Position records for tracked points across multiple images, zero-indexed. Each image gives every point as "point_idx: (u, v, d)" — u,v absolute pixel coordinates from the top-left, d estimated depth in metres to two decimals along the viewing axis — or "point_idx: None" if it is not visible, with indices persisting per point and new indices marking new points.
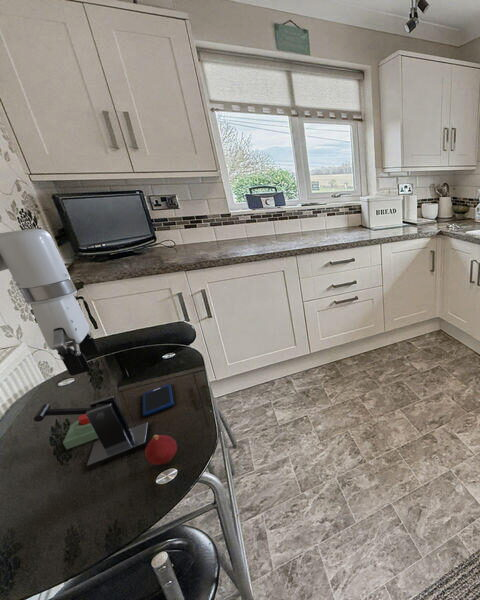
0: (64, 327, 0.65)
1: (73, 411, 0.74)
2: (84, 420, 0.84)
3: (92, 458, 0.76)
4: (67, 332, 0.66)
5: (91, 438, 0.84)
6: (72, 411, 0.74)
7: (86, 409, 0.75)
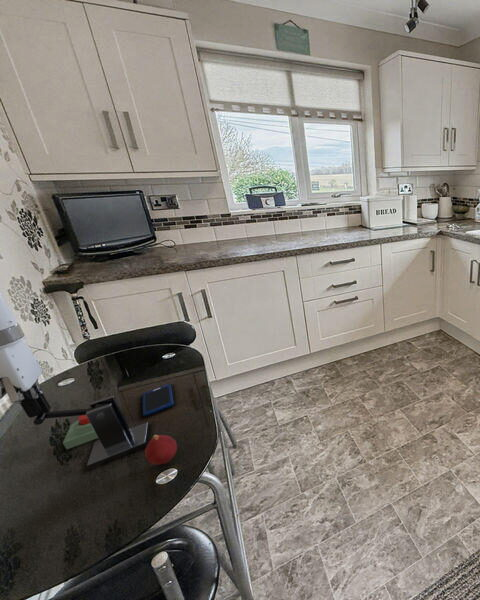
0: (9, 376, 0.63)
1: (73, 412, 0.74)
2: (84, 420, 0.84)
3: (92, 458, 0.76)
4: (12, 381, 0.64)
5: (91, 438, 0.84)
6: (71, 413, 0.74)
7: (86, 410, 0.75)
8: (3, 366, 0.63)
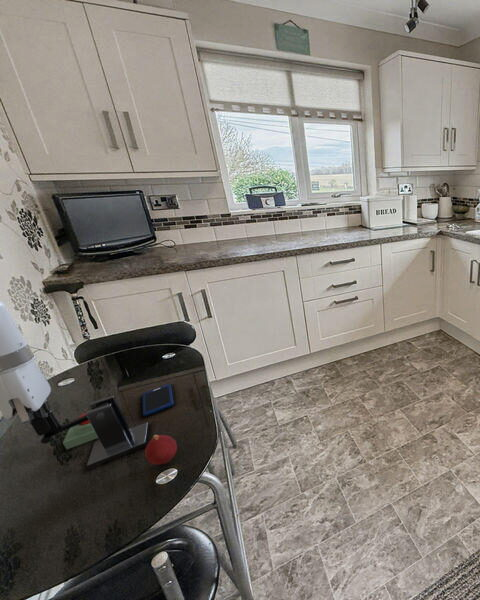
0: (20, 397, 0.65)
1: (75, 421, 0.74)
2: None
3: (92, 458, 0.76)
4: (23, 402, 0.65)
5: (91, 438, 0.84)
6: (74, 423, 0.74)
7: None
8: (14, 387, 0.64)
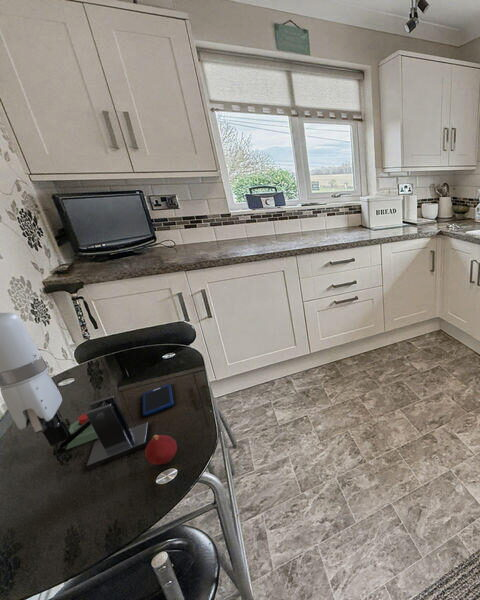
0: (33, 408, 0.67)
1: (81, 427, 0.75)
2: (84, 420, 0.84)
3: (92, 458, 0.76)
4: (36, 412, 0.67)
5: (91, 438, 0.84)
6: (81, 428, 0.75)
7: None
8: (28, 398, 0.66)
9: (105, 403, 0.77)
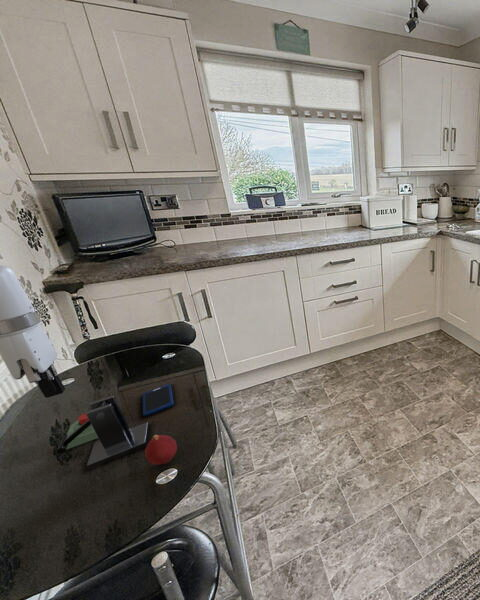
0: (27, 358, 0.69)
1: (81, 427, 0.75)
2: (84, 420, 0.84)
3: (92, 458, 0.76)
4: (30, 363, 0.69)
5: (91, 438, 0.84)
6: (81, 428, 0.75)
7: None
8: (22, 349, 0.68)
9: (105, 403, 0.77)
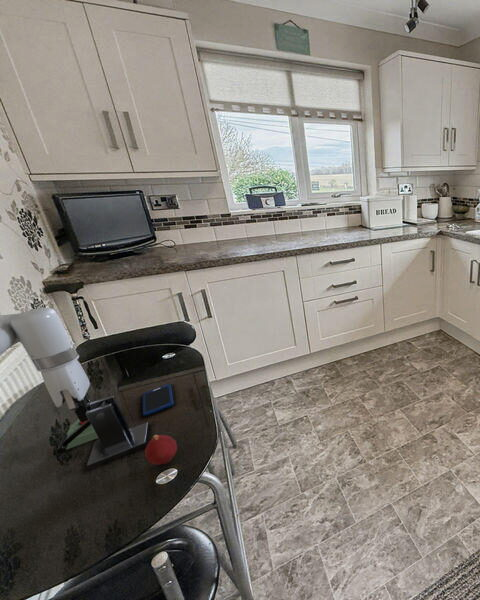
0: (68, 389, 0.78)
1: (81, 427, 0.75)
2: None
3: (92, 458, 0.76)
4: (71, 393, 0.79)
5: (91, 438, 0.84)
6: (81, 428, 0.75)
7: None
8: (64, 381, 0.78)
9: (105, 403, 0.77)
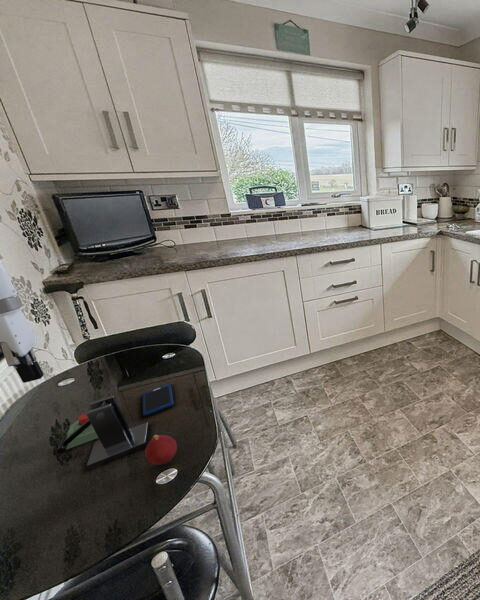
0: (7, 341, 0.70)
1: (81, 427, 0.75)
2: (84, 420, 0.84)
3: (92, 458, 0.76)
4: (10, 346, 0.70)
5: (91, 438, 0.84)
6: (81, 428, 0.75)
7: None
8: (2, 332, 0.69)
9: (105, 403, 0.77)
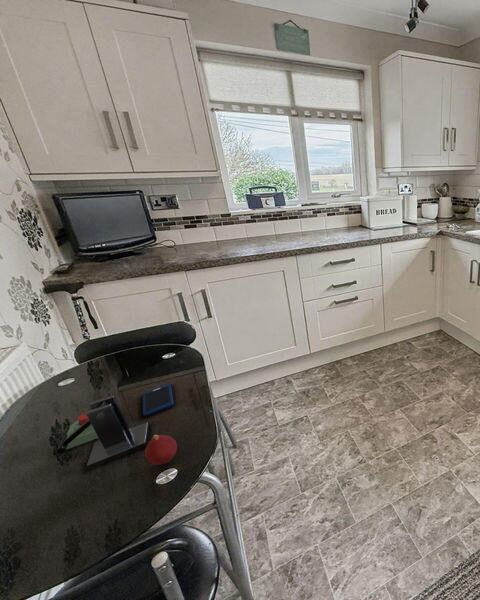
0: None
1: (81, 427, 0.75)
2: (84, 420, 0.84)
3: (92, 458, 0.76)
4: None
5: (91, 438, 0.84)
6: (81, 428, 0.75)
7: None
8: None
9: (105, 403, 0.77)
